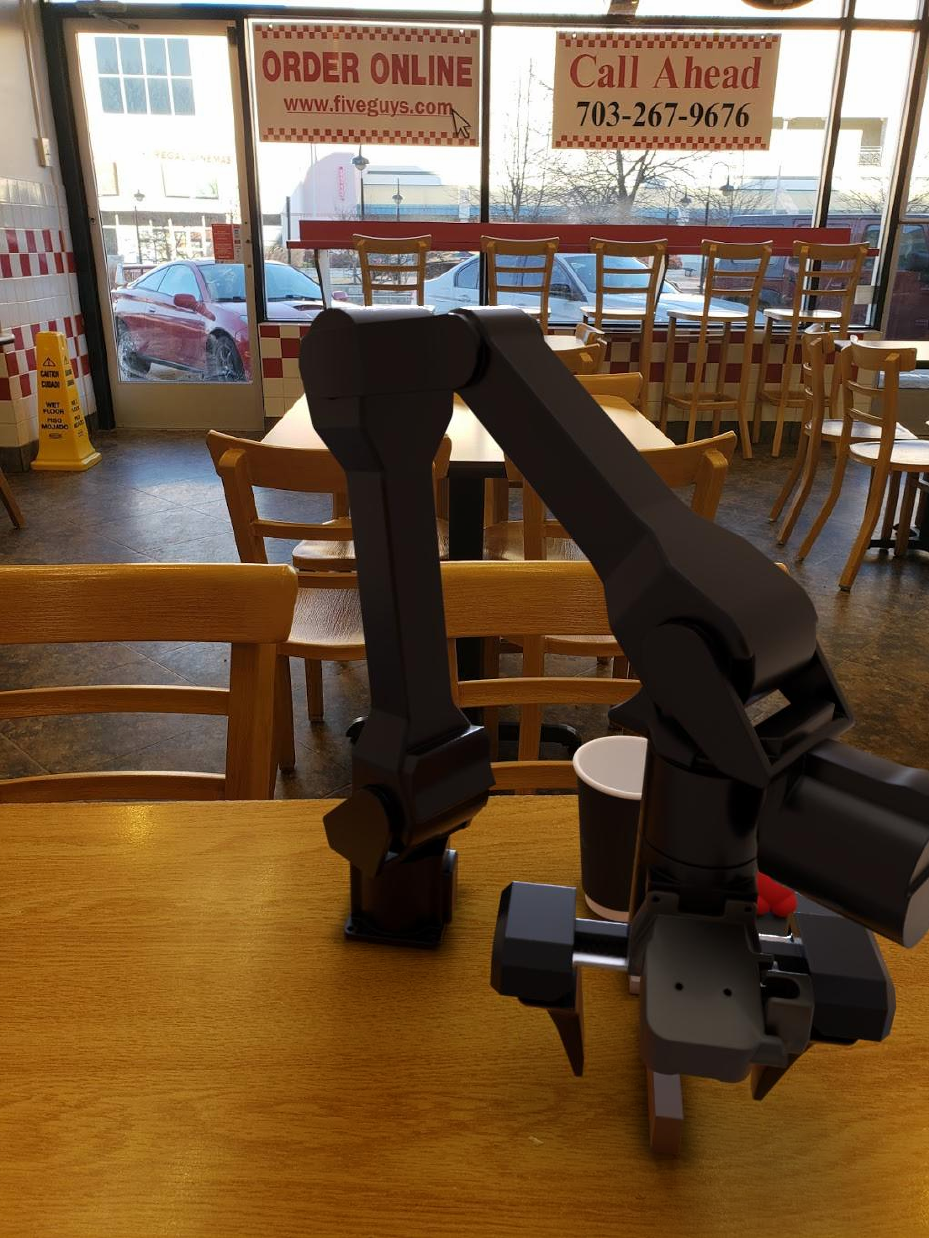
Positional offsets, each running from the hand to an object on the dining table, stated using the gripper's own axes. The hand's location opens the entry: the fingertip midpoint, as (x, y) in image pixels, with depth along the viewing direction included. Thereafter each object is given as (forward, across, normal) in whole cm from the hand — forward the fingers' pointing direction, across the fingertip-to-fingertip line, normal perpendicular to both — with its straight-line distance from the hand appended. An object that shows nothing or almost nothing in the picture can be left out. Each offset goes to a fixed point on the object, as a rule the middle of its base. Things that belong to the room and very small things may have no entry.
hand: (666, 1082), depth 50 cm
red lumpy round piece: (+2, +8, +18) cm, 20 cm away
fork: (+2, 0, +4) cm, 4 cm away
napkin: (+2, +8, +19) cm, 21 cm away
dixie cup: (+2, -2, +17) cm, 17 cm away
